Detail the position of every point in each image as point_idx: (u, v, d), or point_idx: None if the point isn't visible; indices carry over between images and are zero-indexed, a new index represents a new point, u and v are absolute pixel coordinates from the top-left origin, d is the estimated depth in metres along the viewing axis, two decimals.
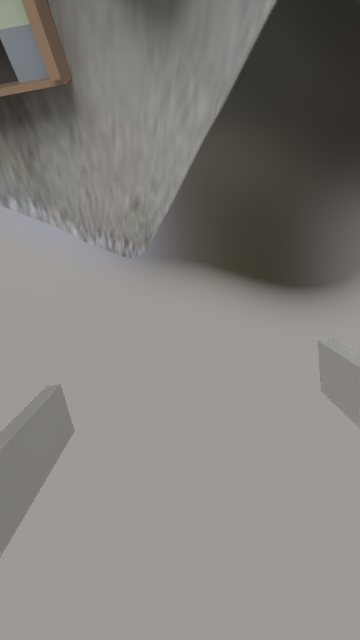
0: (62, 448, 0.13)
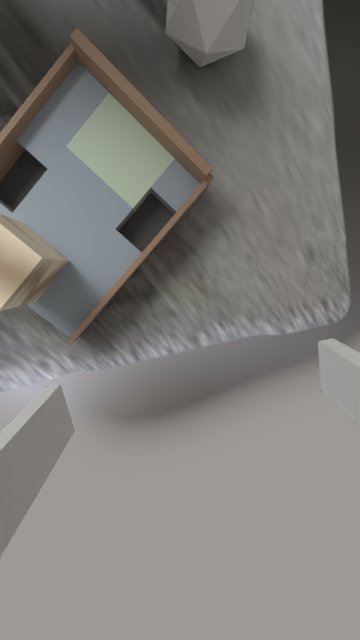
0: (62, 448, 0.13)
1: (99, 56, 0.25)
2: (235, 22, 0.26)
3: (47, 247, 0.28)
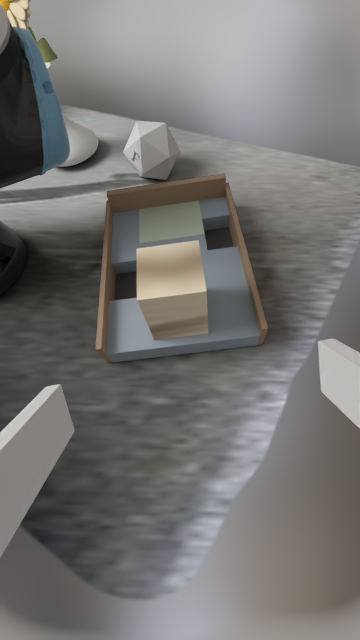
0: (62, 448, 0.13)
1: (126, 189, 0.40)
2: (170, 138, 0.44)
3: None
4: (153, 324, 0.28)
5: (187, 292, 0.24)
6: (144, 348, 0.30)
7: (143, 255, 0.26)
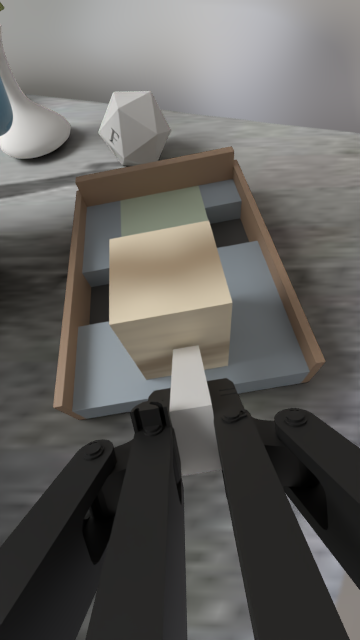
0: None
1: (101, 173, 0.29)
2: (157, 111, 0.35)
3: None
4: (142, 359, 0.17)
5: (197, 306, 0.13)
6: (131, 399, 0.20)
7: (120, 248, 0.16)
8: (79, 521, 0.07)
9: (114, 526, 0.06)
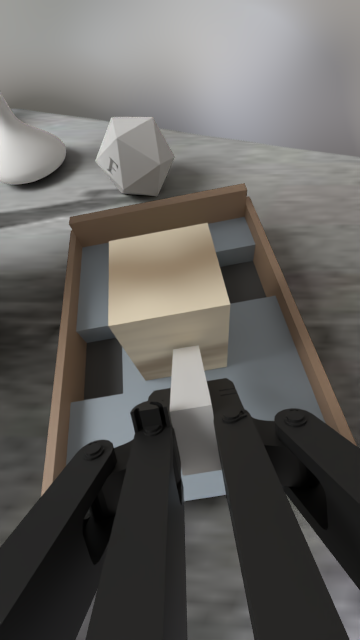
0: None
1: (98, 213, 0.26)
2: (160, 139, 0.32)
3: None
4: (141, 360, 0.17)
5: (195, 307, 0.13)
6: None
7: (120, 250, 0.16)
8: (79, 521, 0.07)
9: (114, 526, 0.06)
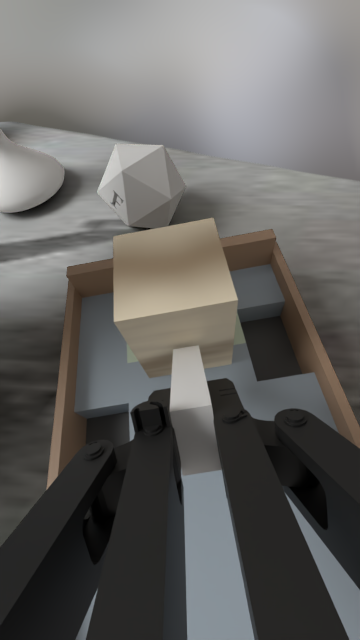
0: None
1: (100, 263, 0.22)
2: (171, 169, 0.28)
3: None
4: (146, 357, 0.17)
5: (202, 303, 0.13)
6: None
7: (124, 246, 0.16)
8: (79, 521, 0.07)
9: (114, 526, 0.06)
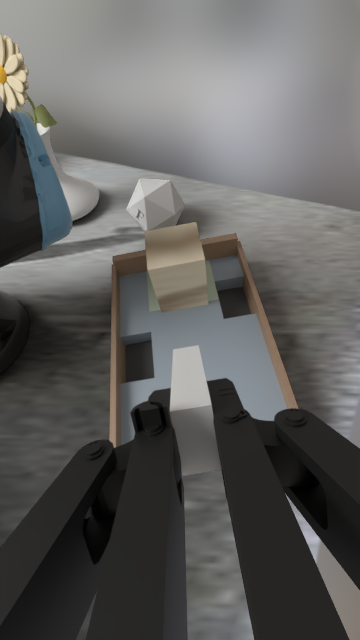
0: None
1: (133, 254, 0.37)
2: (175, 194, 0.43)
3: None
4: (161, 295, 0.32)
5: (188, 261, 0.29)
6: None
7: (150, 236, 0.31)
8: (79, 522, 0.07)
9: (114, 526, 0.06)
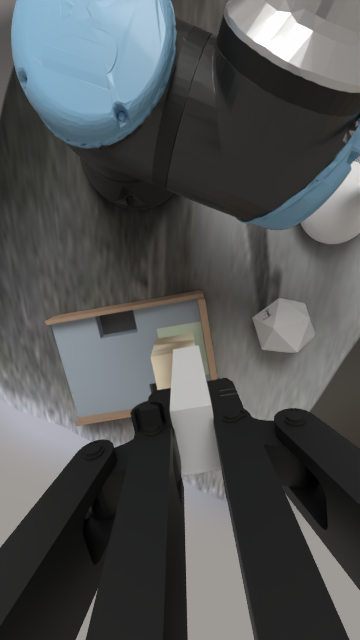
0: None
1: (205, 318, 0.40)
2: None
3: None
4: None
5: (158, 387, 0.37)
6: (59, 348, 0.44)
7: None
8: (79, 521, 0.07)
9: (114, 526, 0.06)
